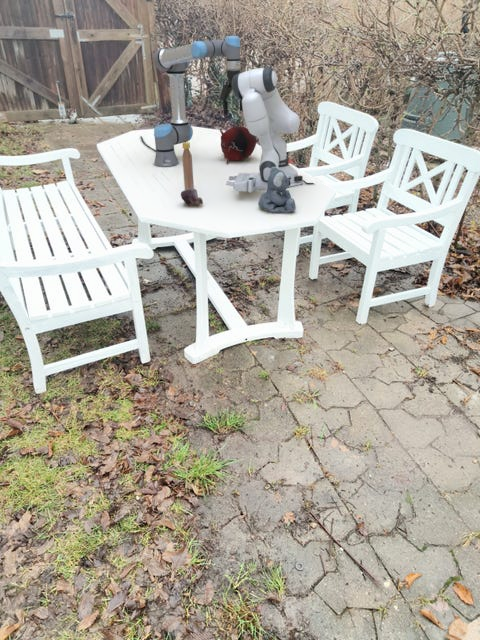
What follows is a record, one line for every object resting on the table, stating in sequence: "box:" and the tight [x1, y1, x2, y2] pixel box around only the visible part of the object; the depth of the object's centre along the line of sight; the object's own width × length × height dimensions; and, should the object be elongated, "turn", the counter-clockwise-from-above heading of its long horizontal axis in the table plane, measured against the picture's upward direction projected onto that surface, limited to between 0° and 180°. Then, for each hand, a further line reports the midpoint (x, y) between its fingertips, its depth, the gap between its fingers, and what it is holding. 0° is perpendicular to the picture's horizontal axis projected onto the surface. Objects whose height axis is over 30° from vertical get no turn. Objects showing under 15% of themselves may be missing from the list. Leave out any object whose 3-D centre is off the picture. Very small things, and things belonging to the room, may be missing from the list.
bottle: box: [181, 148, 195, 191], centre depth 240 cm, size 5×5×26 cm
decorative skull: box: [219, 125, 257, 164], centre depth 297 cm, size 21×24×25 cm
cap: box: [181, 141, 191, 150], centre depth 233 cm, size 4×4×2 cm
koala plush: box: [257, 167, 297, 214], centre depth 221 cm, size 17×18×20 cm
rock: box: [180, 188, 204, 207], centre depth 229 cm, size 12×9×10 cm
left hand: (234, 112), depth 255 cm, fingers open, 13 cm apart
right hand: (227, 180), depth 240 cm, fingers open, 8 cm apart
